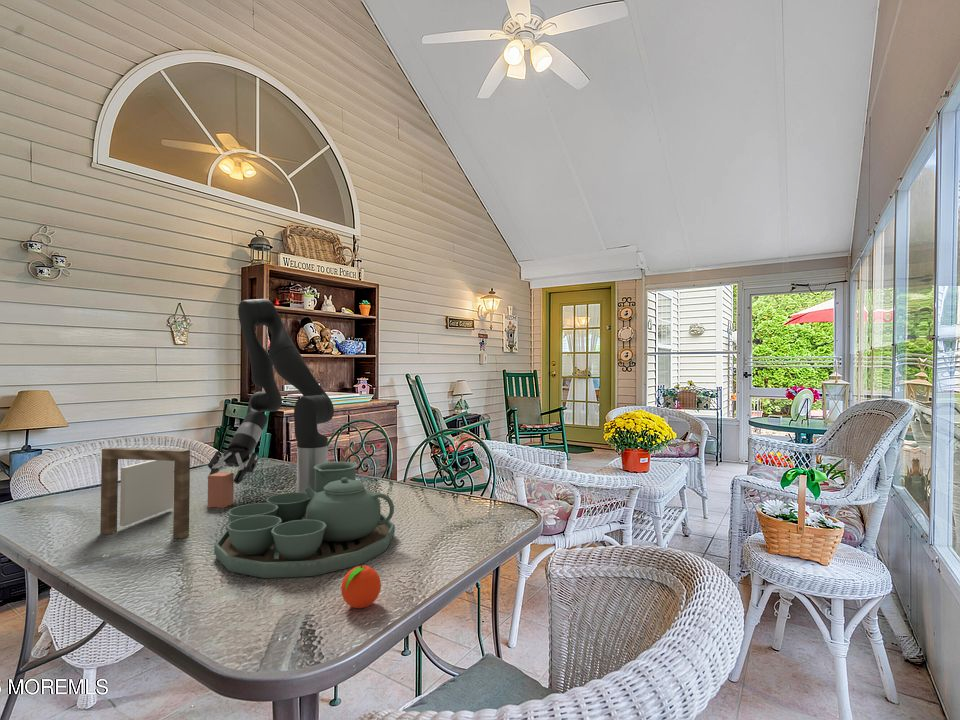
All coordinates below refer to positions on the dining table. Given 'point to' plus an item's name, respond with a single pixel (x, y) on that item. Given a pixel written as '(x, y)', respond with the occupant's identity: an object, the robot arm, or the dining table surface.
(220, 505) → the salmon orange block
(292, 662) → the dining table surface
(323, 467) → the tea set
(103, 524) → the door frame
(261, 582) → the dining table surface
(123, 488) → the door
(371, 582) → the clementine
